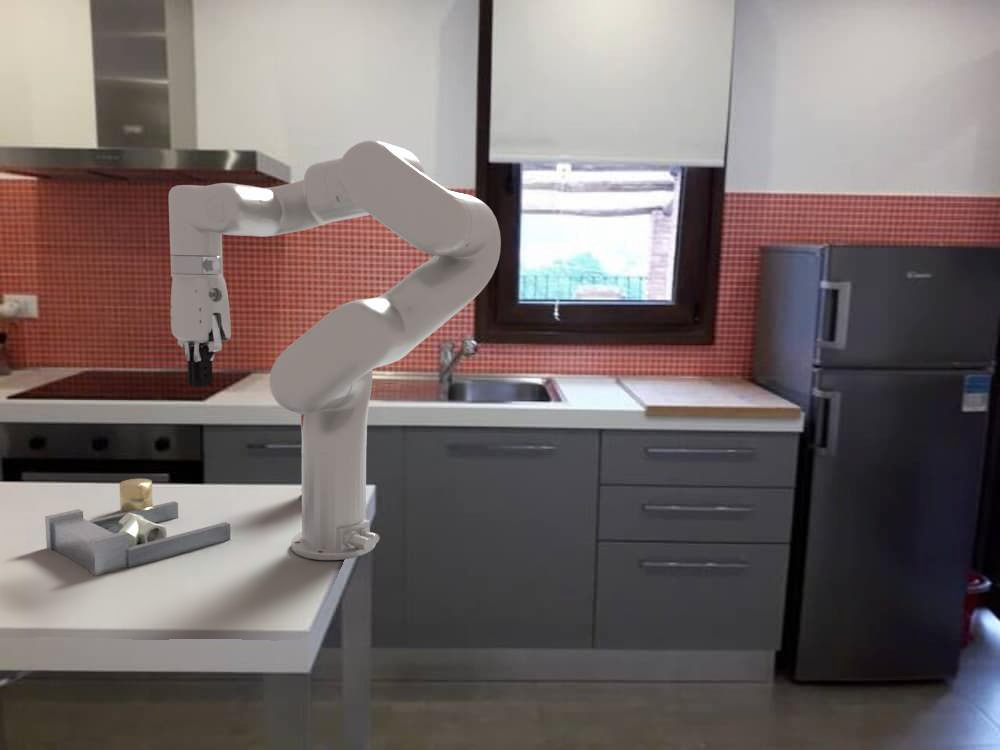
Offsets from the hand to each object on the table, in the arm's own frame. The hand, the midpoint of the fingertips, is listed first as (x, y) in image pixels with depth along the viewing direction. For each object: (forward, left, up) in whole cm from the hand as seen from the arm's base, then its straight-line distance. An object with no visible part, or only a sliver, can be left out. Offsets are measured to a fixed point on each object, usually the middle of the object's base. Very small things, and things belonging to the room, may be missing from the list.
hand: (200, 385), depth 128 cm
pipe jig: (0, +10, -23) cm, 25 cm away
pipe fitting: (+1, +11, -24) cm, 26 cm away
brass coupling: (+15, +3, -23) cm, 28 cm away
